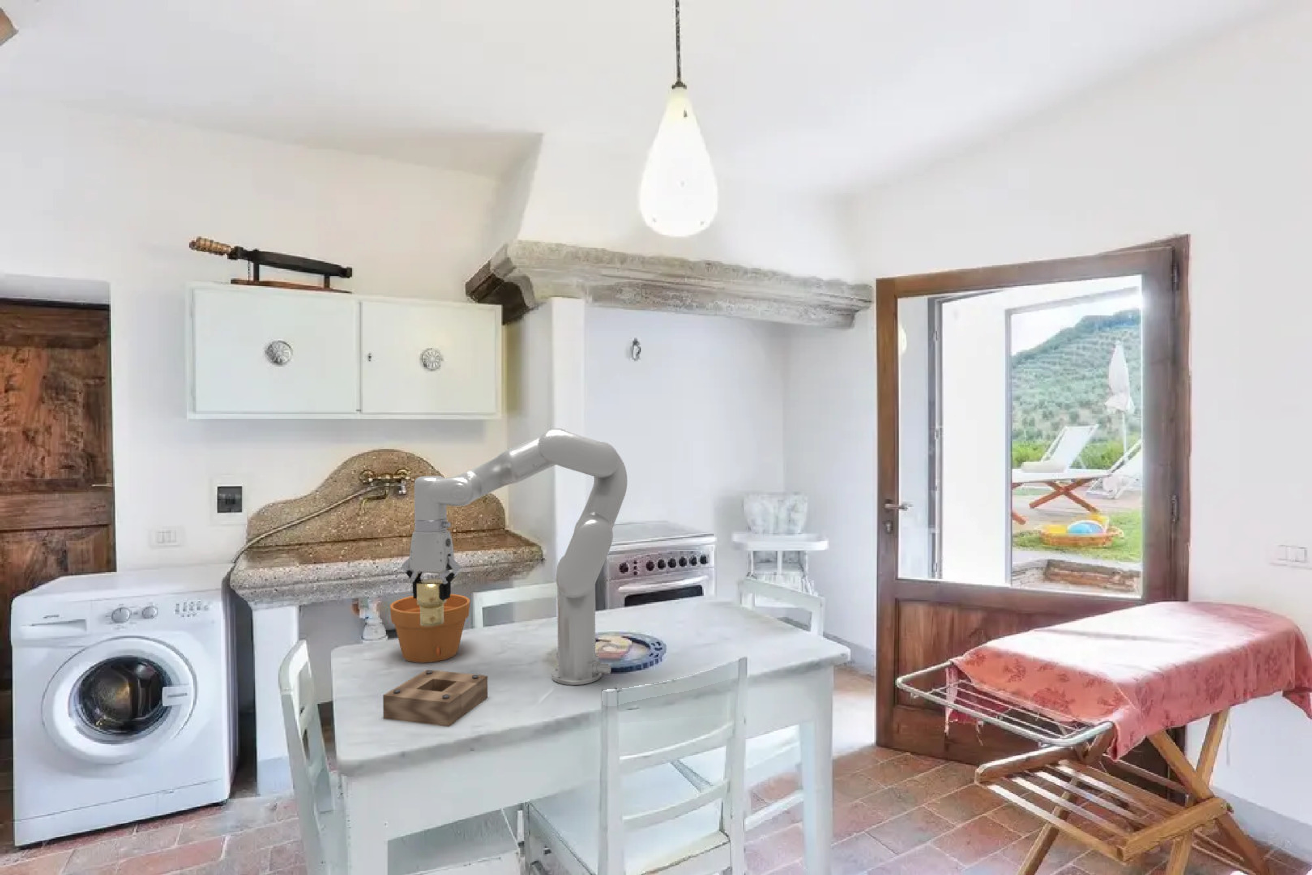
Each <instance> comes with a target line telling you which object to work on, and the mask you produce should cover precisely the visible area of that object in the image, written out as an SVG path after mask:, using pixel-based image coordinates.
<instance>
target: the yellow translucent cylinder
mask: <svg viewBox="0 0 1312 875" xmlns="http://www.w3.org/2000/svg"><path fill="white" fill-rule="evenodd" d="M421 580H422V581H419V582H417V605H420V625H421V626H437V625H441V624H443V623H444V603H445V602H446V601H447V599H445V600H441V591H440V585H441V584H442V583H443V582H442V580H441V578H429V579H421Z"/></svg>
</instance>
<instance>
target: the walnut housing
mask: <svg viewBox="0 0 1312 875" xmlns="http://www.w3.org/2000/svg"><path fill="white" fill-rule="evenodd" d="M488 687H489V686H488V675H483V674H473V673H464V672H463V673H461V672H453V671H452V672H451V671H443V670H442V671H441V670H432V669H426V670H424V671H422V672H420V673H419V674H417V675H414V676H413V677H412V678H410V679H409V680H407V681H405V682H403V683H401V684H400V685H398V686H397V687H394V688H393V689H391V690H390V691H387V692H386V693H384V694H383V696H382V703H383V704H382V707H383V709H382V710H383V713H382V716H383V718H382V719H384V720H391V721H393V720H394V721H401V722H410V723H417V724H425V725H433V726H442V727H451V726H452V725H454V724H455V723H456V722H458V721H459V720H460V719H461V718H463V717H464V716H465V715H467V714H468V713H469V712H470V711H472V710H473V709H475V708H476V707H477V706H478V705H480V704H481V703H483V702H484V701H485V700H487V698H488V699H489V697H488V695H489V694H488V692H489V691H488V689H489V688H488Z"/></svg>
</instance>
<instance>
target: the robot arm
mask: <svg viewBox="0 0 1312 875" xmlns="http://www.w3.org/2000/svg"><path fill="white" fill-rule="evenodd" d="M554 466H559V467H561V468H565V469H567V470H572V471H573V472H578V473H581V474H584V475H588V476H591V477H593V485H592V489H591V491H590V493H589V495H588V498H587V501H586V503H585V505H584V508H583V510H582V512H581V515H580V517H579V518H578V520H577V522H576V523H575V526H574V530H573V534H572V537H571V539H570V541H569V542H568V543H569V544H568V546H567V548H566V551H565V553H564V555H563V556H562V557H561V558H560V559H559V562H558V563H557V566H556V570H555V572H556V573H555V582H556V586H557V587H556V588H557V594H556V595H557V600H556V602H557V604H556V605H557V610H556V611H557V621H556V622H557V668H555V669H554V670H552V672H551V679H552V680H553V681H554V682H555V683H559V684H562V685H567V686H569V685H570V686H580V685H586V684H591V683H593V682H597V681H598V680H600V679H601V677H602V676H603V674H605V675H610V674H611V672H612V667H611V665H610V663H607V662H604V663H603V662H601V661H600V656H597V655H596V653H597V652H596V582H597V580H598V577H599V575H600V574H601V571H602V568H603V566H604V564H605V562H606V559H607V557H608V555H609V552H610V549H611V547H612V544H613V538H614V534H613V533H614V532H613V529H614V525H615V523H616V521H617V518H618V515H619V513H620V510H621V507H622V505H623V502H624V500H625V496H626V494H627V489H628V474H627V470H626V465H625V462H624V461H623V458H622V457H621V456H620V455H619V453H618V452H617V450H616V448H615V447H614V446H612V445H611V444H609V443H608V442H605V441H598V440H595V439H591V438H588V437H585V436H581V435H578V434H575V433H572V432H570V431H567V430H565V429H563V428H557V427H556V428H552V429H551V428H550V429H549V430H547V431H545V432H543V433H540V434H539V435H536V436H534V437H532V438H530V439H528V440H526V441H524V442H522V443H520V444H517V445H515V446H512V447H511V448H508V449H507V450H504V451H503V452H501V453H500V454H499V455H498V456H496V457H494V458H492V459H491V460H488V461H487V462H485V463H483V464H481V465H479V466H477V467H474V468H473V469H470V470H468V471H466V472H463V473H460V474H458V475H455V476H451V477H443V476H440V475H423V476H418V477H417V478H416V479H415V481H414V485H413V486H414V487H413V488H414V531H413V532H412V534H411V535H412V536H411V539H410V550H409V558H408V559H406V561H404V562H403V563H402V564H401V568H402V569H403V570H404V572H405V573H406V575H407V576H408V577H409V580H410V582H411V583H412V594H413V595H412V596H413V598H417V582H419V581H422V580H423V579H422V577H423V574H425V573H426V574H438V575H439V579H441V580H442V582H443V583H442V584H441V585H440V591H441V600H445V599H448V598H450V594H452V589H451V587H452V586H451V585H452V584H451V583H452V582H453V580H454V579H455V578H456V577H457V575H458V574H459V573H460V571H461V570H462V566H461V565H460V564H459V563H458V562H457V561H456V560H455V554H454V544H453V539H452V534H451V531H450V530H448V529H449V528H451V527H452V526H451V525H452V523H451V522H449V521H448V519H447V518H448V517H447V516H448V515H447V513H448V512H447V507H448V506H450V507H451V506H452V507H465V506H467V505H470V504H471V503H472V502H474V501H476V500H478V499H480V498H481V497H484V496H486V495H488V494H490V493H492V492H494V491H496V490H498V489H501V488H503V487H506V486H509V485H513V484H517V483H519V482H522V481H524V480H526V479H529V478H531V477H532V476H535V475H537V474H539V473H541V472H544V471H545V470H548V469H549V468H552V467H554Z"/></svg>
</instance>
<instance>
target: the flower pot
mask: <svg viewBox="0 0 1312 875" xmlns="http://www.w3.org/2000/svg"><path fill="white" fill-rule="evenodd" d="M470 604H471V600H470V598H469V597H467V596H464V595H461V594H455V593H451V594H450V598H448V599H447V601H446V602H445V603H444V623H443V624H441V625H437V626H421V625H420V605H417V598H413V595H410V596H407V597H403V598H399V599H397V600H395V601H393V602H392V603H391V604H390V606H389V609H390V621H391V623H392V624H393V625H394V628H395V631H396V636H397V639H398V643H399V646H400V650H401V651H400V652H401V654H402V657H403V659H404V660H405V661H408V662H412V663H418V664H419V663H420V664H421V663H422V664H423V663H424V664H425V663H435V662H436V663H437V662H440V661H445V660H447V659H450V658H453V657H455V655H457V653H458V651H459V646H460V643H461V638H462V635H463V631H464V626H465V622H466V619H467V618H468V617H470V616H469V614H470V606H471V605H470Z"/></svg>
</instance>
